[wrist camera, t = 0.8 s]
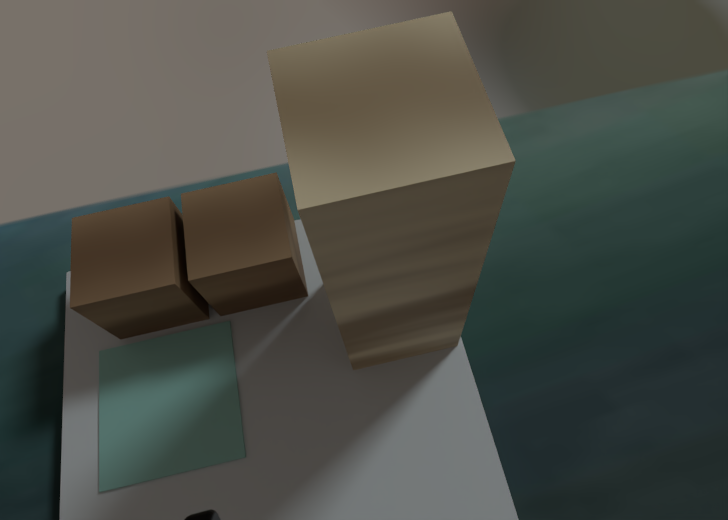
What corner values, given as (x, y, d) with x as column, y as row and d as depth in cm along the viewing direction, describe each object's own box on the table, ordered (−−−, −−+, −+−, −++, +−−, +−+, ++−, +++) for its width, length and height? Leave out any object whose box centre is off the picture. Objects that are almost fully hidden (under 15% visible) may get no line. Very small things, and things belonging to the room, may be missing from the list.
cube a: (209, 318, 24) (174, 283, 20) (120, 339, 24) (69, 307, 20) (202, 241, 26) (169, 196, 22) (118, 260, 25) (71, 217, 22)
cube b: (308, 295, 24) (291, 257, 20) (220, 316, 24) (187, 280, 20) (294, 220, 26) (276, 172, 22) (212, 239, 26) (180, 193, 22)
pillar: (457, 345, 22) (515, 160, 11) (353, 370, 22) (297, 210, 11) (428, 252, 24) (451, 11, 13) (332, 274, 24) (266, 50, 13)
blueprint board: (591, 770, 17) (603, 786, 16) (66, 911, 17) (44, 936, 16) (415, 204, 27) (415, 192, 26) (78, 280, 26) (65, 271, 25)
